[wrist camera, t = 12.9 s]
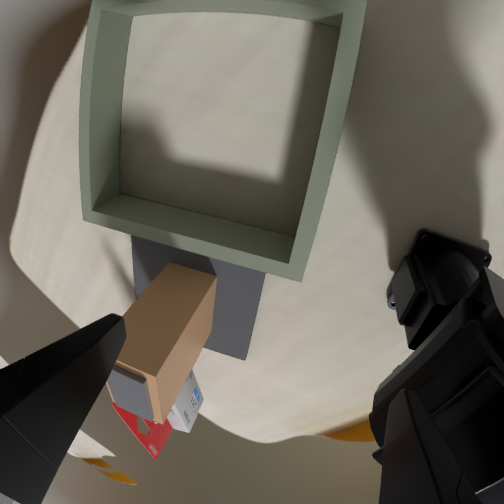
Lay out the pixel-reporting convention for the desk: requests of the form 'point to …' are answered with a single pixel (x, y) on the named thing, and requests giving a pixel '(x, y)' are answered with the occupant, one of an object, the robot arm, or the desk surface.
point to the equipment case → (185, 221)
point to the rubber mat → (226, 296)
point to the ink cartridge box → (177, 418)
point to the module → (163, 341)
